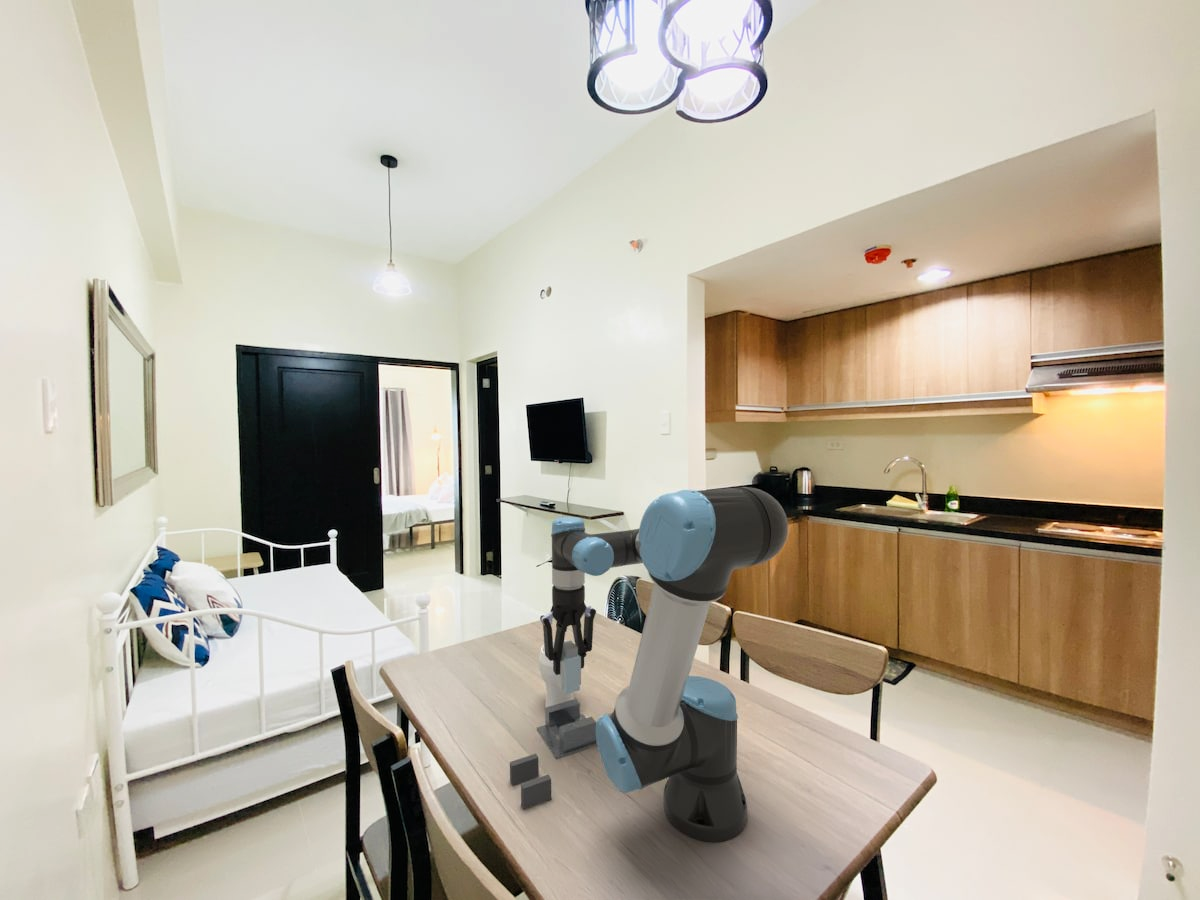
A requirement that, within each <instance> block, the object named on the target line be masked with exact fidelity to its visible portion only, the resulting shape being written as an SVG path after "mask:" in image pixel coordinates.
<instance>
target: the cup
mask: <svg viewBox="0 0 1200 900" xmlns="http://www.w3.org/2000/svg"><path fill="white" fill-rule="evenodd" d="M554 641H555V640H553V648H554ZM565 641H566V640H565V639H564V642H565ZM573 643H574V644H575V642H573ZM538 667H539V672H540V675H541V678H542V680H543V681H544V683H545V687H546V695H545V705H544V707H545V708H546V707H549V706H553V705H556V704H560V703H563V702H566V701H570V700H573V699H575V694H574V692H572V693H568V694H565V692H564V691H563V690H561V689H560V688H559V686H558V685H557V675H556V674H555V673H554V671H553V660H552V661H550V660H549V659H548V658H547V657H546V656H545V646H544V644H542V646H541V648H540V652H539V657H538ZM545 708H544V709H545Z"/></svg>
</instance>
